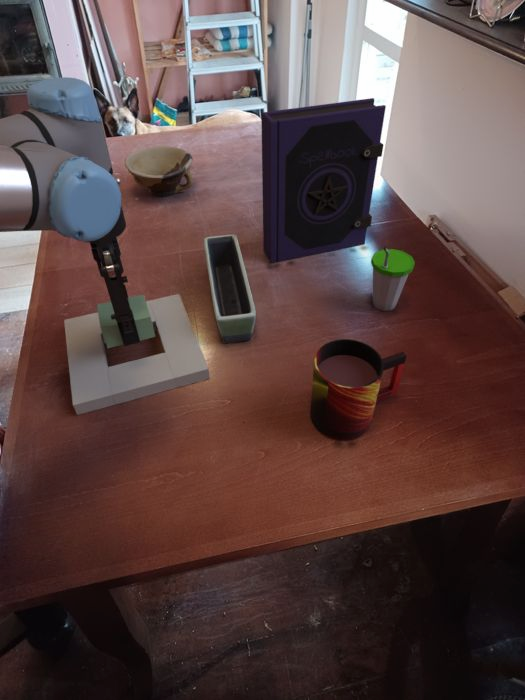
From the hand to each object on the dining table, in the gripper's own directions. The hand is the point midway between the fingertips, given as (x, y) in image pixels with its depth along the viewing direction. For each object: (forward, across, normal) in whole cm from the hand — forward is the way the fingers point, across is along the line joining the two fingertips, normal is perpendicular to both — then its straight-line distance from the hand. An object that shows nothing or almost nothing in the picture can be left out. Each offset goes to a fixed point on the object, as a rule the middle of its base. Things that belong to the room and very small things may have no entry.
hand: (128, 329), depth 82 cm
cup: (+6, -4, -49) cm, 49 cm away
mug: (+6, -25, -30) cm, 39 cm away
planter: (+6, +8, -20) cm, 23 cm away
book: (+6, +20, -45) cm, 50 cm away
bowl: (+6, +61, -18) cm, 64 cm away
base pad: (+6, 0, 0) cm, 6 cm away
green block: (0, 0, 0) cm, 0 cm away
